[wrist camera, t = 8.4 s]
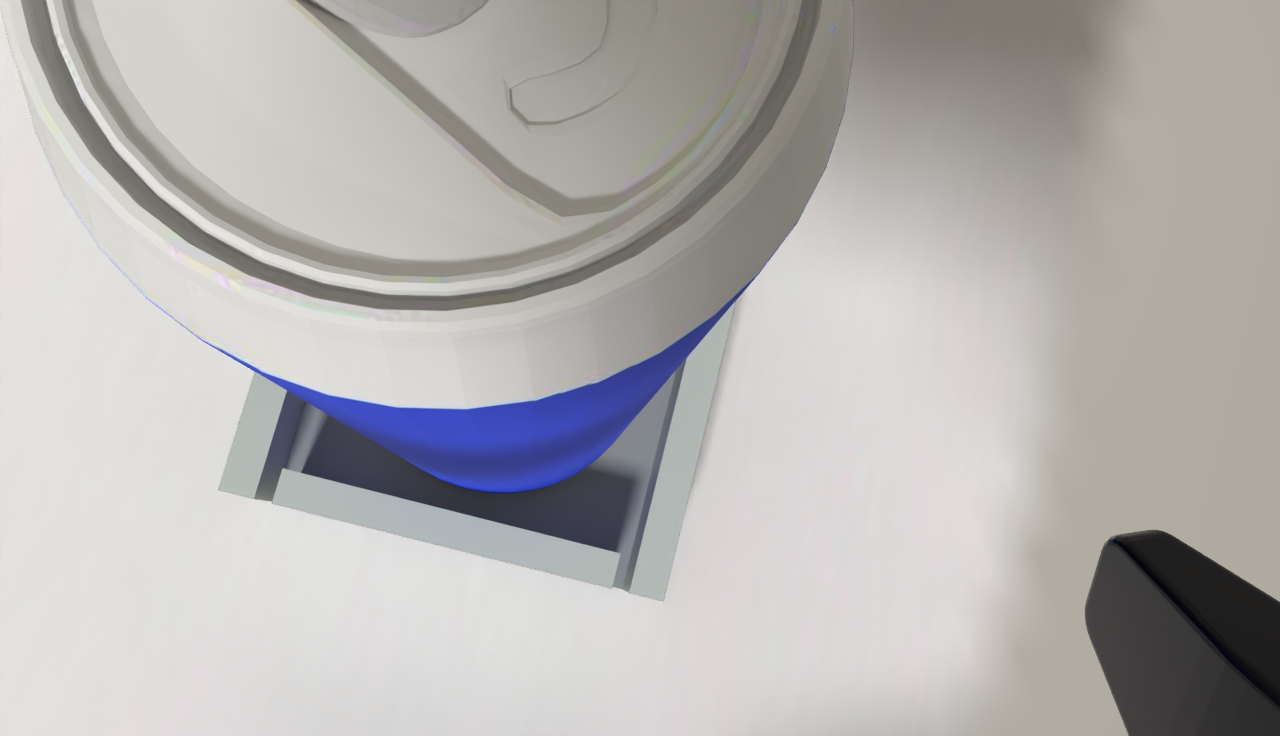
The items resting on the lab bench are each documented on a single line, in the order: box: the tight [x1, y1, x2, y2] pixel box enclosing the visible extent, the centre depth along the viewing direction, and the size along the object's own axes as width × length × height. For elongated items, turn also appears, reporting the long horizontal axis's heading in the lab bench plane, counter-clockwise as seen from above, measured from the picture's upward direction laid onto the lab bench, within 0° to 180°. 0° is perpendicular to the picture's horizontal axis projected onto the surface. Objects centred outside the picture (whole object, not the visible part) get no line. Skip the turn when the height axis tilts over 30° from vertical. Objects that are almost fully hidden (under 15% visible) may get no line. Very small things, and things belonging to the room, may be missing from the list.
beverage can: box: [0, 0, 854, 493], centre depth 13 cm, size 5×5×15 cm
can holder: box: [218, 301, 736, 602], centre depth 21 cm, size 8×8×2 cm
